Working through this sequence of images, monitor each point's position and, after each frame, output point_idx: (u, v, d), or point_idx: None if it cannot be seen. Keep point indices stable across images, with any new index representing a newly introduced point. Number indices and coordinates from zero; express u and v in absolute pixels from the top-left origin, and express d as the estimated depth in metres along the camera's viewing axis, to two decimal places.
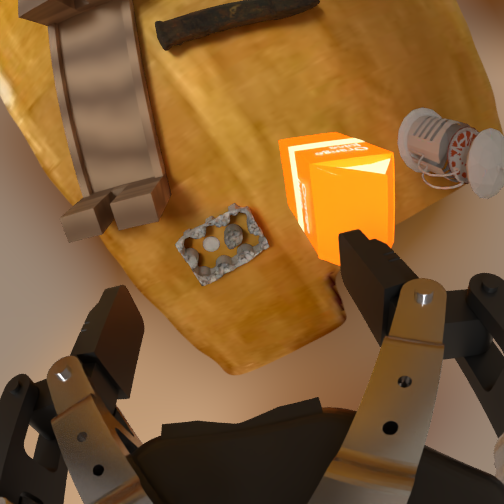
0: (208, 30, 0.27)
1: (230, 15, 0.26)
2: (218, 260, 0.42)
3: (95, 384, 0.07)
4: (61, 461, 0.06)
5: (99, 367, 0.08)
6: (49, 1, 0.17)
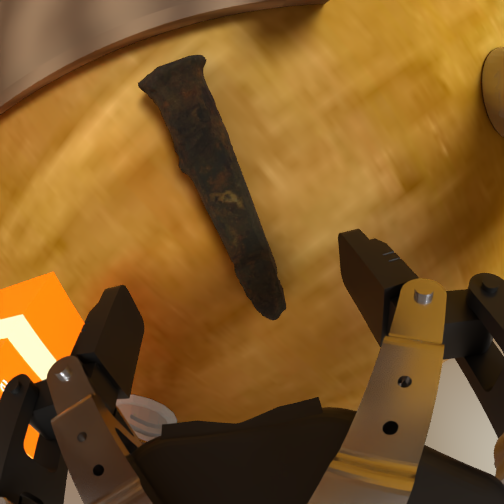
0: (180, 157, 0.17)
1: (215, 194, 0.18)
2: None
3: (95, 384, 0.07)
4: (62, 461, 0.06)
5: (99, 367, 0.08)
6: None
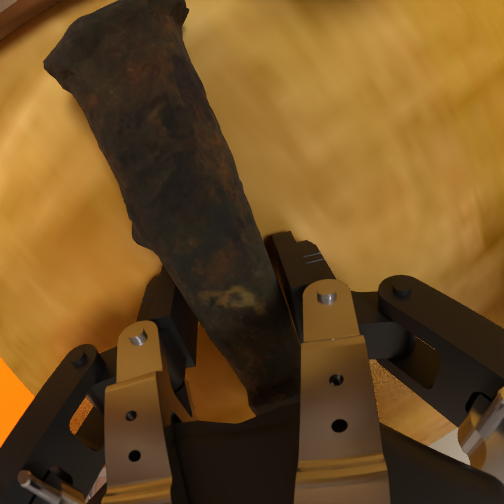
0: None
1: (209, 292, 0.09)
2: None
3: (170, 348, 0.08)
4: None
5: (172, 332, 0.09)
6: None
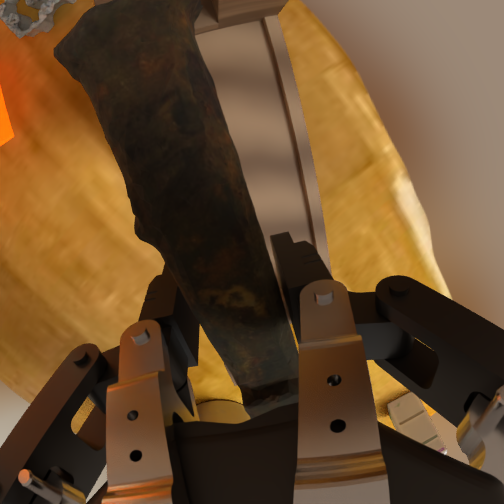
0: None
1: (210, 291, 0.08)
2: None
3: (173, 348, 0.08)
4: None
5: (174, 331, 0.09)
6: None
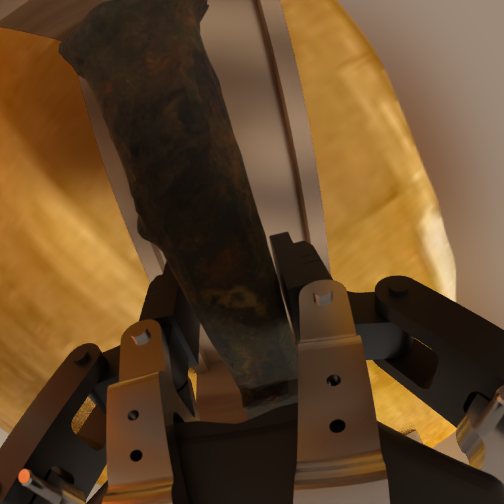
0: None
1: (212, 291, 0.08)
2: None
3: (173, 347, 0.08)
4: None
5: (175, 331, 0.09)
6: None
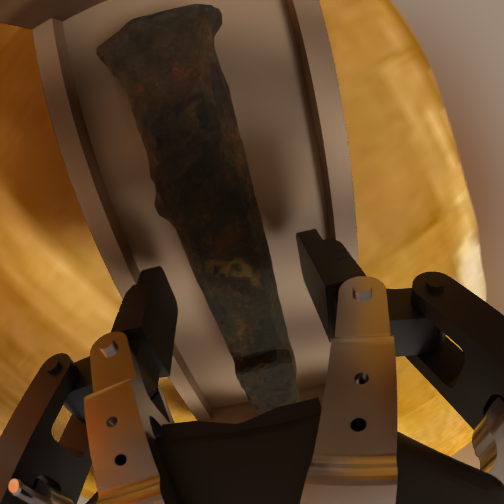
0: None
1: (215, 261, 0.10)
2: None
3: (141, 359, 0.08)
4: None
5: (144, 343, 0.08)
6: None
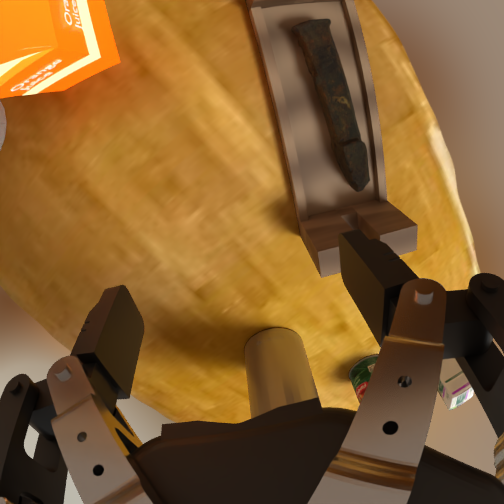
0: (316, 73, 0.25)
1: (335, 97, 0.26)
2: None
3: (95, 384, 0.07)
4: (61, 462, 0.06)
5: (99, 367, 0.08)
6: (383, 231, 0.29)
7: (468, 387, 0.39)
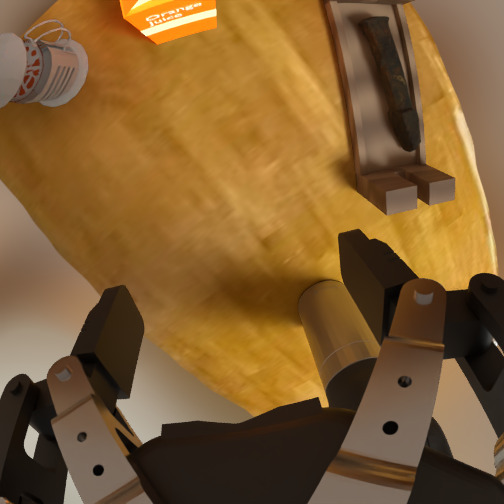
0: (380, 56, 0.29)
1: (395, 75, 0.30)
2: None
3: (95, 384, 0.07)
4: (62, 462, 0.06)
5: (99, 367, 0.08)
6: (431, 181, 0.33)
7: (493, 340, 0.43)
